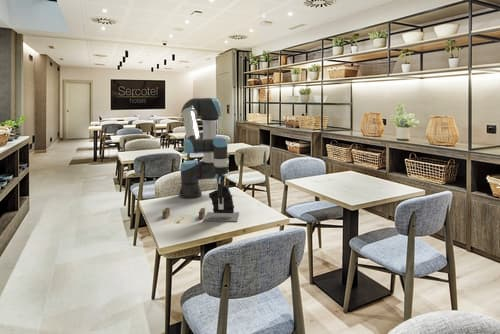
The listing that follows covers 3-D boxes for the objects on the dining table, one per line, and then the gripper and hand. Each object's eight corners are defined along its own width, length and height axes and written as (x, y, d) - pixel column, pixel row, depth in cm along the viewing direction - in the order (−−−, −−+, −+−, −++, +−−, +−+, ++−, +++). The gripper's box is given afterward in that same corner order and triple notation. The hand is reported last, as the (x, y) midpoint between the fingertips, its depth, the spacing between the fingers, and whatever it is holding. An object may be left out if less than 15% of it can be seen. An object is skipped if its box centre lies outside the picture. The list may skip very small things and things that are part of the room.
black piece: (238, 210, 188) (226, 186, 186) (217, 220, 190) (204, 196, 188) (239, 208, 192) (227, 184, 189) (218, 218, 194) (206, 194, 192)
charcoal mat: (207, 213, 199) (207, 212, 199) (239, 213, 198) (239, 212, 198) (203, 221, 185) (203, 220, 185) (237, 221, 184) (237, 220, 184)
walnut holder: (162, 218, 190) (162, 211, 189) (166, 214, 196) (166, 207, 196) (202, 219, 188) (202, 212, 188) (205, 215, 195) (204, 208, 195)
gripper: (216, 163, 194) (217, 203, 199) (211, 169, 178) (212, 212, 182) (229, 163, 194) (230, 203, 198) (225, 169, 177) (226, 212, 182)
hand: (221, 207), depth 190 cm, fingers closed on black piece, 4 cm apart
